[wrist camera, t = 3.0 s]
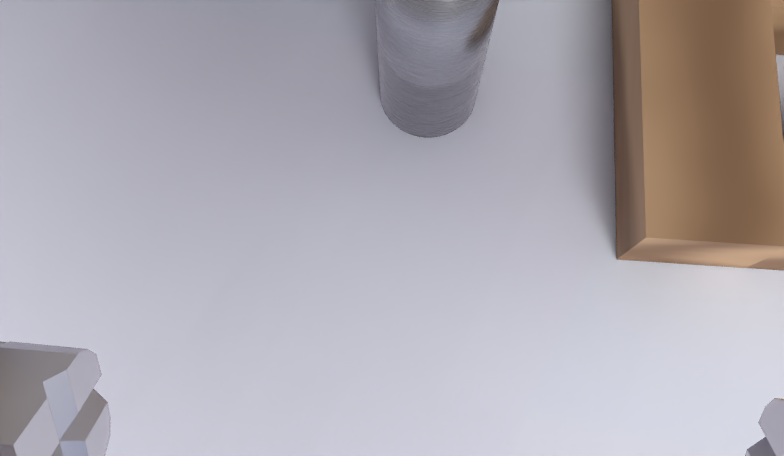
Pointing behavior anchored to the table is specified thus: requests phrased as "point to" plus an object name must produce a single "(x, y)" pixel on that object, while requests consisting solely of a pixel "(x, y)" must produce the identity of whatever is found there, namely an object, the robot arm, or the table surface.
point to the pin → (431, 61)
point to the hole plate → (699, 132)
